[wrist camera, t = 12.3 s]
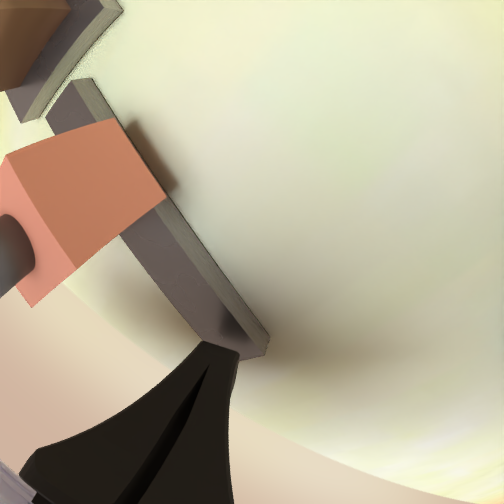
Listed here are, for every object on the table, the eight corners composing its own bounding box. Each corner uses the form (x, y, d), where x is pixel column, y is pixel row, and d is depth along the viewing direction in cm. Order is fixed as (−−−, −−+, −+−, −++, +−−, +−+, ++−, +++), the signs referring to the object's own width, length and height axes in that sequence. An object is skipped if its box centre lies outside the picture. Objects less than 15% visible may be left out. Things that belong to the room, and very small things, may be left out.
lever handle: (167, 196, 9) (39, 304, 5) (105, 242, 11) (6, 333, 6) (114, 117, 8) (-38, 175, 4) (62, 177, 10) (-51, 245, 5)
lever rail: (270, 337, 12) (264, 355, 11) (231, 347, 13) (223, 364, 12) (90, 77, 9) (71, 80, 8) (63, 112, 10) (45, 117, 9)
